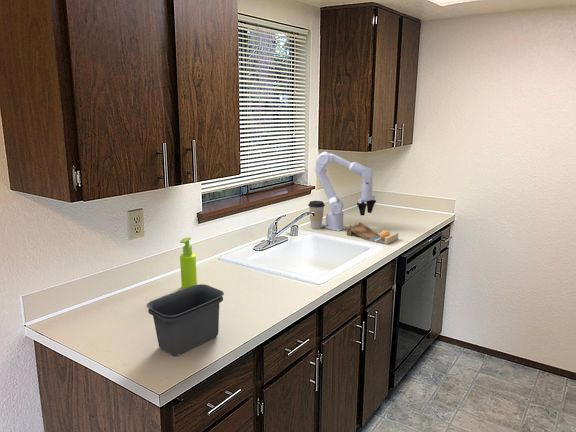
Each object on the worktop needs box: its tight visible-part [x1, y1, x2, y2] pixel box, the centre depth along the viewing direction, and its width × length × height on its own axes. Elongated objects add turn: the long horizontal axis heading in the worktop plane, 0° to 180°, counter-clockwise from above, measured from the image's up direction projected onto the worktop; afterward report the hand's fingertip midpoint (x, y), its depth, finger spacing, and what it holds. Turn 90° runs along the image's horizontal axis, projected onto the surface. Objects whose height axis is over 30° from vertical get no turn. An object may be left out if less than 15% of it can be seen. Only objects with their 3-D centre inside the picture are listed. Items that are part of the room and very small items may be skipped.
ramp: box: [346, 222, 379, 240], centre depth 251 cm, size 14×10×7 cm
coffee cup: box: [307, 200, 326, 230], centre depth 265 cm, size 9×9×15 cm
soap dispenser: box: [179, 237, 198, 290], centre depth 179 cm, size 6×7×20 cm
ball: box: [379, 229, 391, 240], centre depth 242 cm, size 5×5×5 cm
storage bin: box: [146, 283, 225, 357], centre depth 140 cm, size 21×16×14 cm
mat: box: [363, 232, 399, 246], centre depth 244 cm, size 14×12×3 cm
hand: (365, 214), depth 259 cm, fingers open, 7 cm apart
